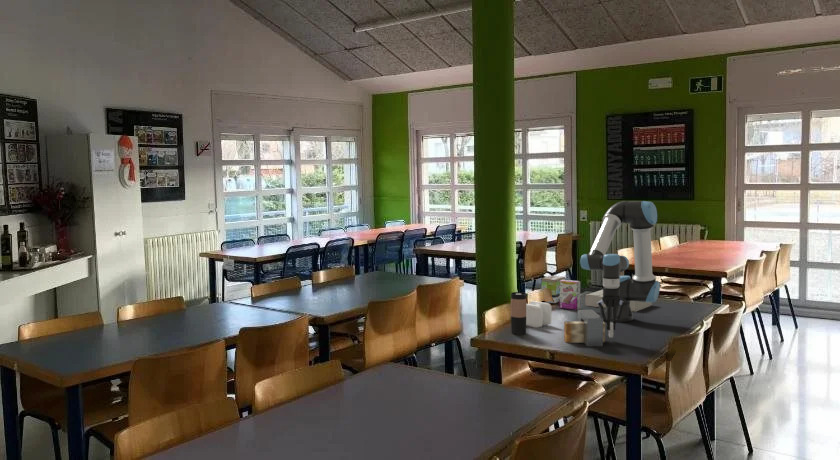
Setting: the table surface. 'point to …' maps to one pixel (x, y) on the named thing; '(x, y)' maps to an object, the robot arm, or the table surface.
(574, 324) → the bar
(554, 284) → the tea box
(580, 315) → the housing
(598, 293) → the box
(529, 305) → the cable organizer
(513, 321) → the travel mug
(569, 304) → the candy bar box
